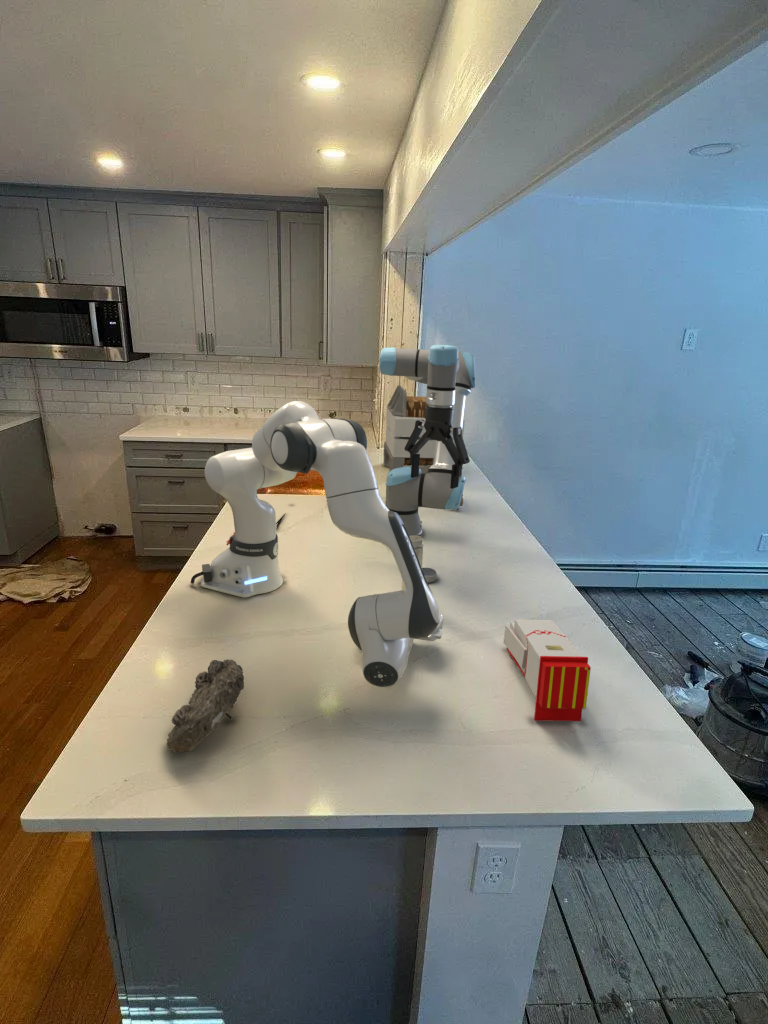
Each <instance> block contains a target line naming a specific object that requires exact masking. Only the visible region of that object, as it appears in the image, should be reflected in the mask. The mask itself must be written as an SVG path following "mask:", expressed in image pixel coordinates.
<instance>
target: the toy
mask: <svg viewBox="0 0 768 1024" xmlns="http://www.w3.org/2000/svg"><path fill="white" fill-rule="evenodd" d="M503 644H504V645H505V647H506V650H507V653H508V654H509V656H510V657H511V658H512V660H513V662H514V663H515V665H516V667H517V668H518V669H519V671H520V672H521V674H522V676H523V677H524V678H525V681H526V683H527V684H528V686H529V688H530V690H531V692H532V694H533V695H534V697H535V706H534V717H533V720H534V721H536V722H539V721H540V722H582V716H583V715H582V714H583V709H587V704H588V703H587V701H588V695H589V685H590V677H591V669H592V666H590V664H589V657H588V656H582V654H581V653H580V652H579V651H578V649H576V647H575V646H574V645H573V643H572V642H571V641H570V640H569V639H568V637H567V636H566V635H565V634H564V633H563V631H562V630H561V629H560V628H559V626H558V625H557V624H556V623H555V621H554V620H553V619H524V618H523V619H521V618H518V619H516V618H515V619H514V621H510V622H509V624H506V625H505V629H504V637H503Z"/></svg>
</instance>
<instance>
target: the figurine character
mask: <svg viewBox="0 0 768 1024" xmlns="http://www.w3.org/2000/svg"><path fill="white" fill-rule="evenodd" d="M463 496H464V493H463V494H462V498H461V502H460V505H459V507H458V508H457V509H456V510H457V511H459V510H460V507H463V505H464V498H463Z"/></svg>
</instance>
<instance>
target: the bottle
mask: <svg viewBox="0 0 768 1024" xmlns="http://www.w3.org/2000/svg"><path fill="white" fill-rule="evenodd" d="M409 537H410V540H411V542H412V545H413V547H414V550H415V552H416V555H417V558H418V560H419V563H420V565H421V568H423V561H424V560H423V558H424V547H425V546H424V544H423V542H424V541H423V540H424V539H423V537H422V536H416V535H411V536H409ZM404 589H405V585H404V583H403V580H402V579H401V590H404Z"/></svg>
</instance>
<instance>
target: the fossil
mask: <svg viewBox="0 0 768 1024" xmlns="http://www.w3.org/2000/svg"><path fill="white" fill-rule="evenodd" d="M243 670H244V669H243V667H242V665H240V664H237V662H236V661H235V660H234V659H232V658H231V659H227V658H226V659H224V660H223V661H222V660H217V659H212V660H211V661H210V663H209V665H208V666H207V671H201V672H199V673H198V674H197V675H196V676H195V680H194V684H195V685H194V687H195V689H194V690H193V693H192V694H191V697H190V698H189V700H188V704H184V705H182V706H181V707H180V709H177V710H176V711H175V713H174V715H173V716H172V718H171V723H172V724H173V727H172V730H171V731H170V732H168V734H167V738H166V741H167V742H166V745H167V749H168V750H169V751H173V752H174V753H176V754H178V753H182V752H188V751H189V752H192V751H193V750H195V748H196V747H197V746H199V744H200V743H201V742H203V741H204V740H205V739H206V738H207V737H208V736H209V735H210V734H211V733H212V732H214V730H215V729H217V727H218V726H219V724H220V722H221V721H222V720H223V719H224V718H225V716H226V717H227V719H229V720H233V717H232V715H230V714H229V710H230V709H231V708H234V706H235V704H236V703H237V702H238V699H239V697H240V695H241V693H242V691H243V690H245V689H244V688H245V675H244V671H243Z"/></svg>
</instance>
